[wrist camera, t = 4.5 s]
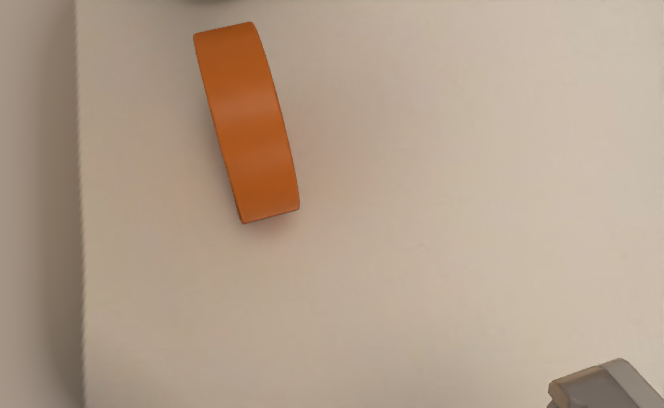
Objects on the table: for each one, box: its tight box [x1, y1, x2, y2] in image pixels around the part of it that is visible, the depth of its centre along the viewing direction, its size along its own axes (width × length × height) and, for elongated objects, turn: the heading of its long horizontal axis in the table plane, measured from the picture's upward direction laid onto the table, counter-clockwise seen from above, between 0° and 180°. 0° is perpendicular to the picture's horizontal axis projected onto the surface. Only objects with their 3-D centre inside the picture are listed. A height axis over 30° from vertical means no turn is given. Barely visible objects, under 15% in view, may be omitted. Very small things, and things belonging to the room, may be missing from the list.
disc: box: [193, 22, 300, 224], centre depth 24 cm, size 3×8×9 cm, turn 16°
